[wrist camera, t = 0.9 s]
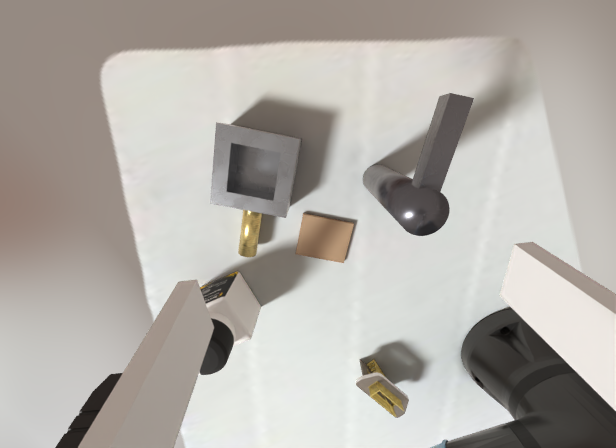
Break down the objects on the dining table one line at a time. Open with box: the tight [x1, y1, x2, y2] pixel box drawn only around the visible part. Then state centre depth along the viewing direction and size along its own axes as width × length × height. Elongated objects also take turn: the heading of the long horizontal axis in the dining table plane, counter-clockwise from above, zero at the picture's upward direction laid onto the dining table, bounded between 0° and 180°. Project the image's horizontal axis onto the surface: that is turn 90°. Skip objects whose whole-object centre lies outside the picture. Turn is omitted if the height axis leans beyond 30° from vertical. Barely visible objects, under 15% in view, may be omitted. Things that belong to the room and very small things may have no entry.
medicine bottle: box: [199, 271, 261, 375], centre depth 35 cm, size 7×7×12 cm
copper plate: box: [296, 213, 354, 263], centre depth 37 cm, size 7×6×1 cm
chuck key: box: [363, 93, 474, 236], centre depth 26 cm, size 10×4×16 cm, turn 169°
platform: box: [356, 359, 409, 418], centre depth 42 cm, size 12×18×7 cm, turn 45°
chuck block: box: [210, 123, 302, 257], centre depth 33 cm, size 9×16×5 cm, turn 169°
